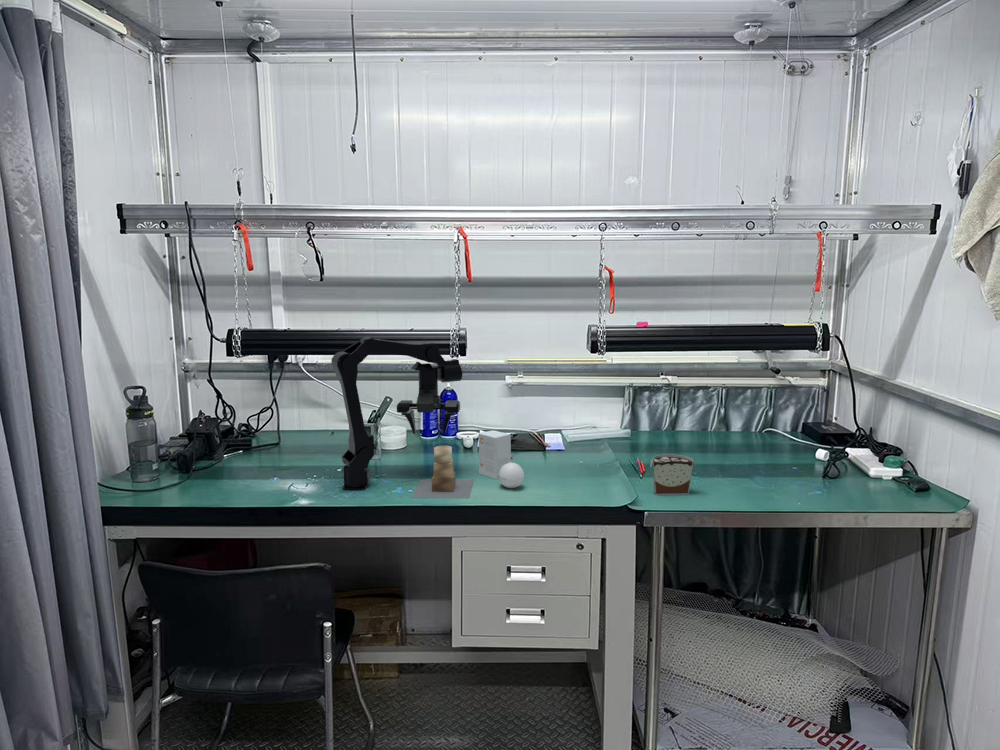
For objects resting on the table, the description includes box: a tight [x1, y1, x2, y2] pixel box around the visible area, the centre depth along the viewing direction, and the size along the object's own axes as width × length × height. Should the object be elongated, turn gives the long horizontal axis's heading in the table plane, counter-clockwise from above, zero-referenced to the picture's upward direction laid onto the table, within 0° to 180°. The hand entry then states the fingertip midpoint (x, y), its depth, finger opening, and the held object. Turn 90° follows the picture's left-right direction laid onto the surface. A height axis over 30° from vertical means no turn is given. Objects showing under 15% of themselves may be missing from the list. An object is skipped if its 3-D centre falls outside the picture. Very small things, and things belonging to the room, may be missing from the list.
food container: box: [649, 453, 696, 496], centre depth 178 cm, size 12×6×10 cm, turn 91°
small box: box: [478, 429, 512, 480], centre depth 194 cm, size 8×6×13 cm
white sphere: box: [493, 462, 525, 489], centre depth 182 cm, size 10×7×7 cm
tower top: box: [433, 458, 454, 478], centre depth 181 cm, size 5×5×4 cm
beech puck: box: [433, 445, 453, 464], centre depth 180 cm, size 5×5×4 cm
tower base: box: [431, 471, 456, 492], centre depth 181 cm, size 6×6×4 cm
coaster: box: [411, 478, 475, 499], centre depth 182 cm, size 16×16×1 cm
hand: (429, 434), depth 194 cm, fingers open, 9 cm apart
